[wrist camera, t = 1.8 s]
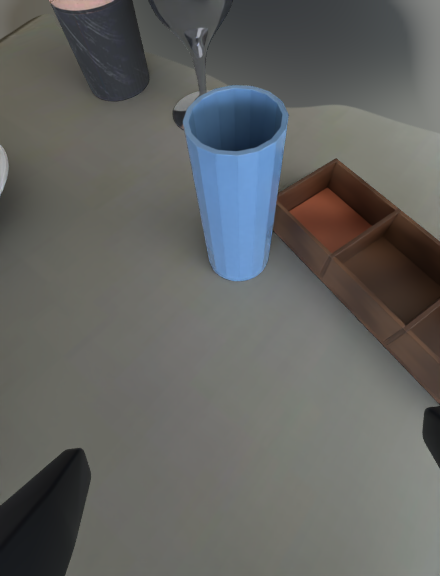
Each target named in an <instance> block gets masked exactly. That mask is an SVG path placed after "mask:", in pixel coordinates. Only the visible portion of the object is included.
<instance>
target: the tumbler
mask: <svg viewBox="0 0 440 576" xmlns="http://www.w3.org/2000/svg"><path fill="white" fill-rule="evenodd" d="M288 116H289V115H288V112H287V110H286V108H285V106H284V104H283V102H282V101H281V100H280V99H279V98H277V97H276V96H275V95H274V94H272V93H271V92H269V91H267V90H264V89H260V88H257V87H254V86H244V85H231V86H226V87H221V88H216V89H213V90H211V91H209V92H207V93H205V94H203V95H201V96H199V97H198V98H197V99H196V100H195V101H194V102H193V103H192V104H191V105H190V106H189V107H188V108H187V111H186V113H185V116H184V119H183V126H184V132H185V137H186V142H187V147H188V153H189V158H190V163H191V169H192V174H193V179H194V184H195V190H196V195H197V200H198V205H199V211H200V216H201V221H202V226H203V232H204V237H205V242H206V248H207V253H208V257H209V262H210V265H211V267H212V268H213V270H214V271H215V272H216V273H217V274H218V275H220V276H221V277H223V278H225V279H228V280H232V281H245V280H249V279H251V278H254V277H255V276H257V275H258V274H260V273H261V272H262V271H263V269H264V268H265V267H266V265H267V262H268V258H269V251H270V244H271V237H272V230H273V223H274V216H275V209H276V201H277V194H278V187H279V180H280V173H281V166H282V159H283V152H284V145H285V137H286V130H287V123H288Z"/></svg>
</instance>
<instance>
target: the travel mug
mask: <svg viewBox="0 0 440 576" xmlns="http://www.w3.org/2000/svg"><path fill="white" fill-rule="evenodd" d="M49 1H50V3H51V5H52V8H53V10H54V12H55V14H56V16H57V18H58V20H59V22H60V25H61V27H62V29H63V31H64V33H65V35H66V38H67V40H68V42H69V44H70V46H71V48H72V50H73V53H74V55H75V57H76V59H77V61H78V63H79V65H80V67H81V70H82V72H83V74H84V76H85V78H86V80H87V82H88V84H89V86H90V88H91V90H92V92H93V93H94V94H95V95H96V96H97V97H98V98H100V99H103V100H108V101H119V100H124V99H128V98H131V97H133V96H135V95H137V94H139V93H140V92H141V91H142V90H144V89H145V87H146V86H147V84H148V82H149V73H148V68H147V63H146V59H145V54H144V50H143V45H142V41H141V37H140V32H139V28H138V23H137V19H136V15H135V10H134V6H133V1H132V0H49Z"/></svg>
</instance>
